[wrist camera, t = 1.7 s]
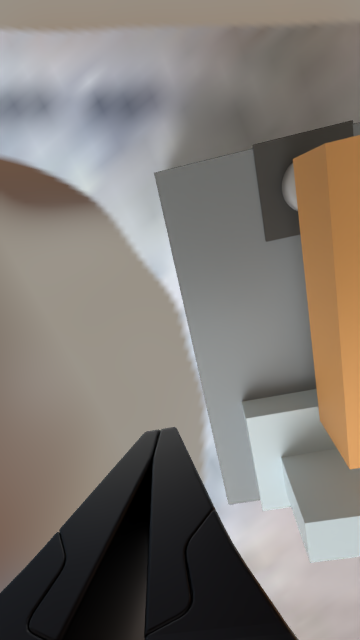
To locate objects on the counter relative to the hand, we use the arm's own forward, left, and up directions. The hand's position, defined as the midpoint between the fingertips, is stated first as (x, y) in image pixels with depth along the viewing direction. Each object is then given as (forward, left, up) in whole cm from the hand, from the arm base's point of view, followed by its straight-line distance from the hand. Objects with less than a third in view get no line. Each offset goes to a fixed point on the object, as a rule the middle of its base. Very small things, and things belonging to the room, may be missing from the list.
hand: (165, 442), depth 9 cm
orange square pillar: (-6, -2, -5) cm, 8 cm away
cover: (-6, +5, -5) cm, 9 cm away
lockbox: (-6, 0, -10) cm, 11 cm away
